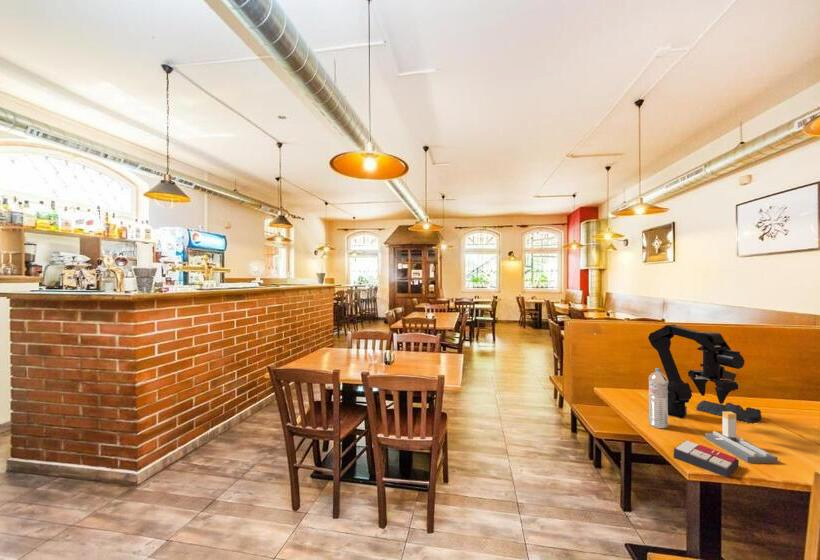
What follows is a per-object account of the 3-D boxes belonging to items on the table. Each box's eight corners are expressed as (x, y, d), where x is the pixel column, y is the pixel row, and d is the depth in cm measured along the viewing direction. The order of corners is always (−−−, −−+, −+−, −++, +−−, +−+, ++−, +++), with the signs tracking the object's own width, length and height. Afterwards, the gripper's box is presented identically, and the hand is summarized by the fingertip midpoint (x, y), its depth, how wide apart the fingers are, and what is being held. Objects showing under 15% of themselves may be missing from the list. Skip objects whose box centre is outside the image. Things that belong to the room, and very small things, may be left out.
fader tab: (721, 436, 133) (721, 411, 133) (729, 436, 133) (729, 411, 133) (728, 440, 130) (728, 414, 130) (736, 440, 130) (736, 414, 130)
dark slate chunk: (702, 403, 174) (702, 394, 174) (764, 417, 156) (764, 407, 156) (693, 411, 165) (693, 401, 165) (757, 426, 147) (757, 415, 147)
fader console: (705, 438, 137) (705, 430, 137) (731, 438, 136) (731, 430, 136) (747, 462, 119) (747, 454, 119) (777, 463, 118) (777, 454, 118)
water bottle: (671, 429, 144) (671, 371, 144) (653, 428, 146) (653, 370, 145) (663, 423, 151) (662, 366, 151) (645, 421, 152) (645, 366, 152)
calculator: (729, 467, 110) (673, 446, 123) (728, 480, 110) (672, 458, 123) (739, 457, 116) (685, 438, 129) (738, 469, 116) (684, 449, 129)
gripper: (752, 368, 134) (753, 408, 134) (712, 357, 152) (713, 392, 152) (723, 368, 134) (723, 408, 134) (687, 357, 153) (687, 392, 153)
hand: (711, 399), depth 143 cm, fingers open, 9 cm apart
